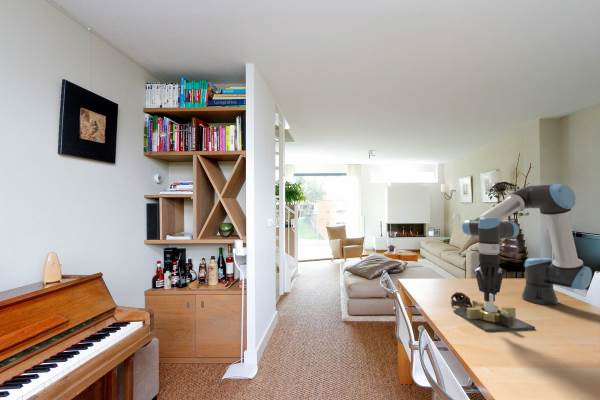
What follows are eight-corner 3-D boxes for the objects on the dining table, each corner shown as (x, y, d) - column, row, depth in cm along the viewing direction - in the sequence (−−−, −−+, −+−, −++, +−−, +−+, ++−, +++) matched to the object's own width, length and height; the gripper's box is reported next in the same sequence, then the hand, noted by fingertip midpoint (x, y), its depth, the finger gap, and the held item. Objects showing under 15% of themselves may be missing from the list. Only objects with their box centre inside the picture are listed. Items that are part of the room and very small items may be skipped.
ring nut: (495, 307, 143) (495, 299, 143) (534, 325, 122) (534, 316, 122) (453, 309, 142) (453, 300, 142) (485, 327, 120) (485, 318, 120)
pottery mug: (477, 311, 144) (471, 298, 143) (459, 318, 146) (453, 305, 144) (465, 297, 156) (460, 285, 155) (449, 304, 158) (443, 292, 156)
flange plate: (495, 310, 143) (495, 297, 144) (535, 329, 121) (534, 313, 122) (453, 312, 142) (453, 298, 142) (485, 331, 120) (485, 315, 120)
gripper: (480, 254, 119) (481, 312, 118) (510, 254, 120) (511, 311, 119) (468, 252, 126) (469, 306, 126) (496, 251, 127) (497, 305, 127)
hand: (489, 308), depth 123 cm, fingers closed
